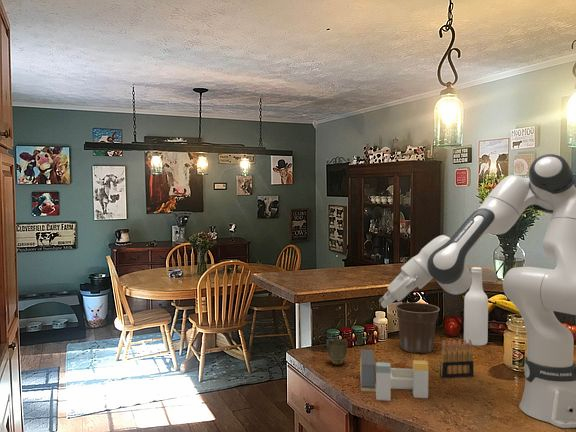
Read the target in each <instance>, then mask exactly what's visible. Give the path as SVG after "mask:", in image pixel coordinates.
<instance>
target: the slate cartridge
mask: <svg viewBox="0 0 576 432" xmlns="http://www.w3.org/2000/svg"><path fill="white" fill-rule="evenodd" d="M391 368H392V366H391V363H390V362H380V361H379V362H377V361H375V382H376V392H375V398H376V399H375V400H376V401H388V402H389V401H391V392H392V391H391Z"/></svg>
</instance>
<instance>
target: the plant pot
mask: <svg viewBox="0 0 576 432" xmlns="http://www.w3.org/2000/svg"><path fill="white" fill-rule="evenodd" d="M395 309H396V314H397V315H396V317H397V319H398V320H397V321H398V332H399V333H398V334H399V345H400V346H399V347H400V349H402V350H403V351H405V352H408V353H414V354H417V353H420V354H427V353H428V354H429V353H431V352H432V351H433V350H434V341H435V334H436V327H437V326H436V325H437V321H438V317H439V312H440V311H441V310H440V307H438V306H437V305H434V304H429V303H424V302H402V303H397V304H396V305H395Z"/></svg>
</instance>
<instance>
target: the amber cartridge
mask: <svg viewBox="0 0 576 432" xmlns="http://www.w3.org/2000/svg"><path fill="white" fill-rule="evenodd" d="M412 369H413V389H412V395H413V396H412V397H413V398H415V399H416V398H418V399H419V398H420V399H428V398H429V362H428V361H427V360H415V359H414V360H412Z"/></svg>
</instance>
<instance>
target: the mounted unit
mask: <svg viewBox="0 0 576 432" xmlns="http://www.w3.org/2000/svg"><path fill="white" fill-rule="evenodd" d="M359 359H360V360H359V368H360V369H359V381H360V383H359V385H360V392H366V393H367V392H369V393H370V392H371V393H376V359H375V354H374V349H360V358H359Z"/></svg>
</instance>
